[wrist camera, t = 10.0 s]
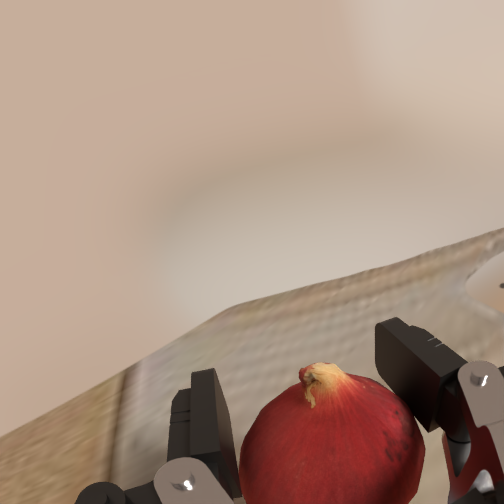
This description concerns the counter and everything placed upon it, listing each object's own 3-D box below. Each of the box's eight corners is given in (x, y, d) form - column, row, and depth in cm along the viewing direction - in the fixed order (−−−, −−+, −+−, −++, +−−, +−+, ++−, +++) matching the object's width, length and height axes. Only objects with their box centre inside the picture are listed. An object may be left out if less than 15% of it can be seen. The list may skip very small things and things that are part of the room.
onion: (356, 443, 12) (359, 292, 10) (429, 518, 7) (499, 362, 5) (239, 490, 11) (189, 345, 9) (291, 592, 5) (253, 511, 3)
